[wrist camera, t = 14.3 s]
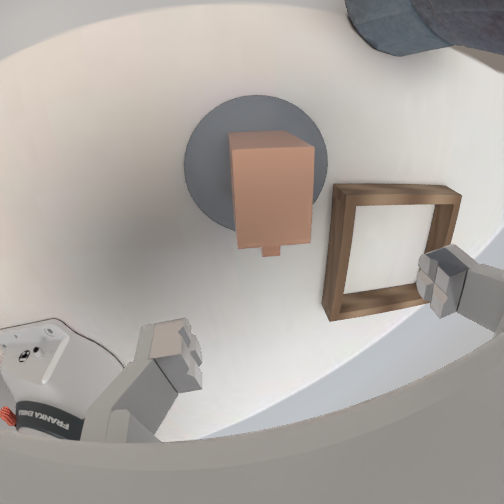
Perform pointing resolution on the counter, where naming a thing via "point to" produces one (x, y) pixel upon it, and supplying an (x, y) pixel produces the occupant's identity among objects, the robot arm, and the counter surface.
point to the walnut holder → (341, 239)
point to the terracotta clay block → (271, 189)
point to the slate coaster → (217, 149)
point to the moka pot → (429, 24)
